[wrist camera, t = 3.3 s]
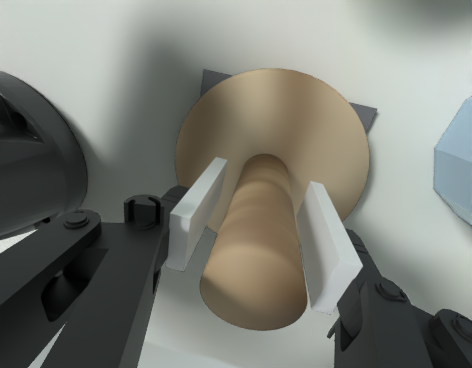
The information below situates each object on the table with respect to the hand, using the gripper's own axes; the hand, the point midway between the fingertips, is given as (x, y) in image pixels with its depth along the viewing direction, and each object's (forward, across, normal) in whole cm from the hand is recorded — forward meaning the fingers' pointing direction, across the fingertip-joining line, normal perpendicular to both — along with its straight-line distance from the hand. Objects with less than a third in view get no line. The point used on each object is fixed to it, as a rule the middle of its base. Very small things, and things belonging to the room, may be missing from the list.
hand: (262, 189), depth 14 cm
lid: (+4, 0, 0) cm, 4 cm away
